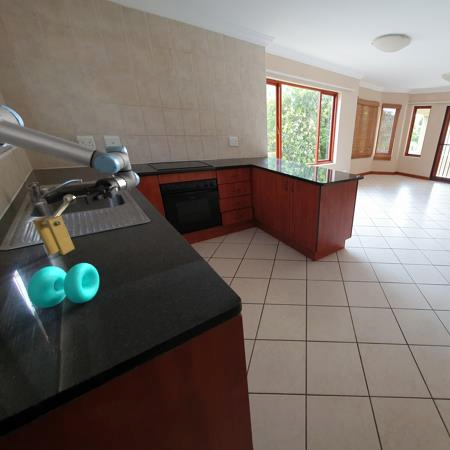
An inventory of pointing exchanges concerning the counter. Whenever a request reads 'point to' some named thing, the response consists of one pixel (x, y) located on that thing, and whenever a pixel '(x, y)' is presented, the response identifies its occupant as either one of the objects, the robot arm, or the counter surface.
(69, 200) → the lever
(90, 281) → the donuts
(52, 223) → the bracket
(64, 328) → the counter surface
